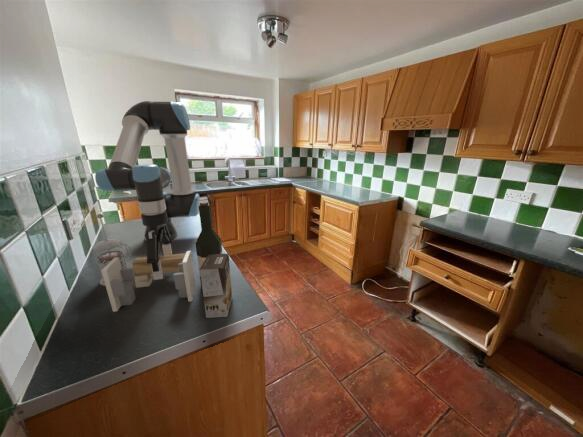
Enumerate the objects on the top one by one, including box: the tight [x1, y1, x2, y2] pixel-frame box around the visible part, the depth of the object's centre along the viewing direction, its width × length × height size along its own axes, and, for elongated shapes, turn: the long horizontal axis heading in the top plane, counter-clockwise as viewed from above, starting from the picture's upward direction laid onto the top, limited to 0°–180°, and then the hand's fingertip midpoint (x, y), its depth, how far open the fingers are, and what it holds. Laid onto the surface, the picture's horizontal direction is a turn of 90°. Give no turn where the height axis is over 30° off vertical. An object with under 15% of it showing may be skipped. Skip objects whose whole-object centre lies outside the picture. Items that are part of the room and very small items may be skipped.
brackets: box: [101, 250, 197, 313], centre depth 76 cm, size 8×22×14 cm, turn 103°
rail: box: [131, 252, 186, 277], centre depth 86 cm, size 4×18×5 cm, turn 103°
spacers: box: [134, 271, 180, 289], centre depth 87 cm, size 6×18×4 cm, turn 103°
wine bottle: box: [194, 201, 224, 288], centre depth 81 cm, size 8×8×30 cm
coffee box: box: [200, 253, 233, 319], centre depth 71 cm, size 9×6×16 cm
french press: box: [92, 213, 131, 287], centre depth 86 cm, size 10×12×25 cm
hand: (164, 268), depth 86 cm, fingers open, 13 cm apart
